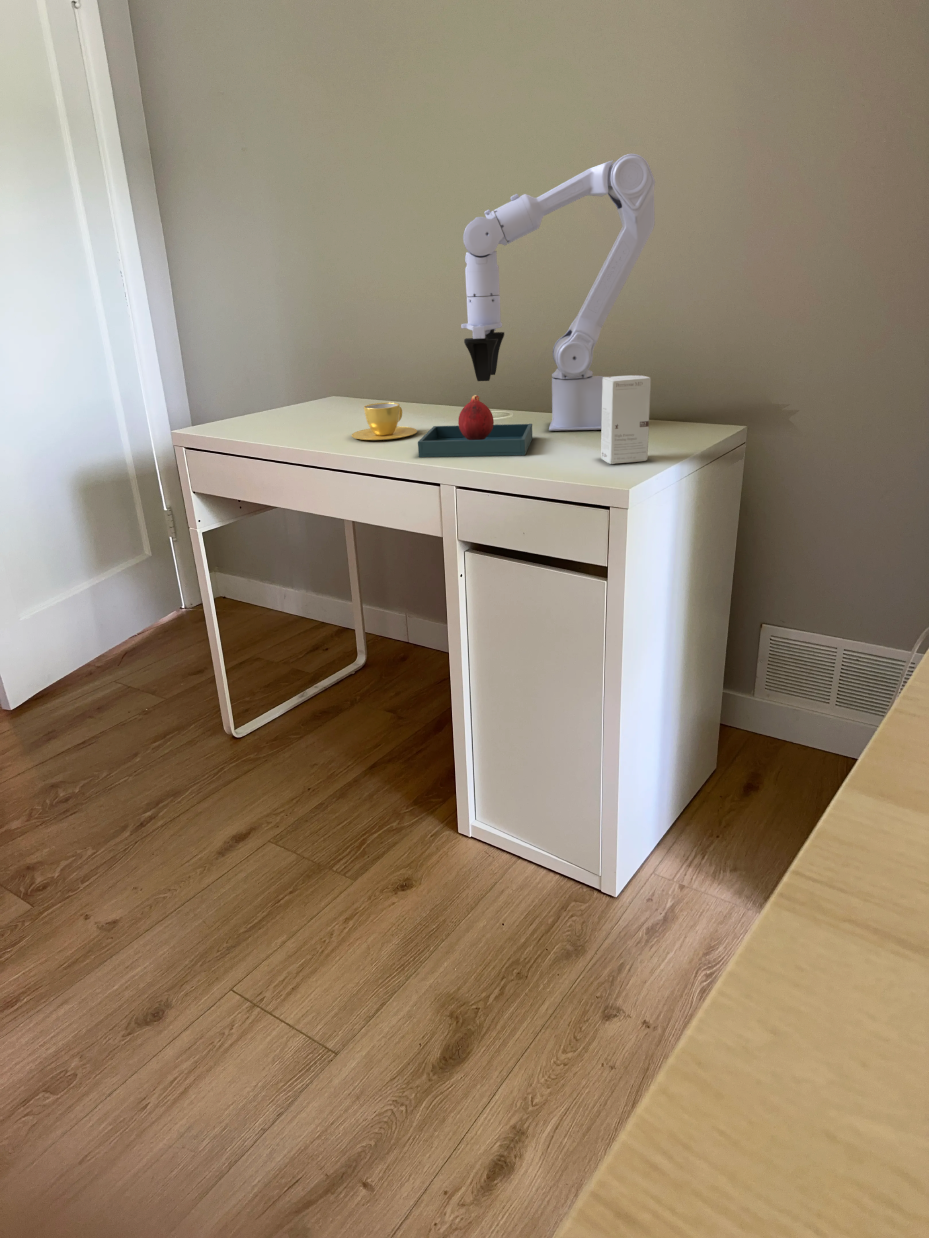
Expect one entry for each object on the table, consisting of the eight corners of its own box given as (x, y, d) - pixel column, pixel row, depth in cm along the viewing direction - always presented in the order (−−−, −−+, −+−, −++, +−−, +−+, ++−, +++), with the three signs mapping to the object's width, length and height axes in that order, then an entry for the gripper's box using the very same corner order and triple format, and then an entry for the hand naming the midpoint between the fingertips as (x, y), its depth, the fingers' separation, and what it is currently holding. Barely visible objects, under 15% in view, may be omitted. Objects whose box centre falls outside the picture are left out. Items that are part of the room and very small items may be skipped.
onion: (490, 448, 138) (489, 398, 135) (456, 448, 140) (453, 398, 136) (496, 440, 144) (495, 392, 140) (463, 441, 145) (461, 393, 142)
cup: (387, 444, 148) (384, 413, 146) (338, 439, 155) (334, 409, 153) (430, 431, 157) (428, 401, 155) (382, 427, 164) (379, 398, 161)
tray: (532, 438, 146) (532, 423, 145) (525, 455, 134) (524, 439, 133) (434, 440, 149) (433, 426, 148) (418, 457, 137) (417, 441, 136)
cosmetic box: (610, 465, 125) (611, 380, 120) (599, 459, 129) (600, 377, 124) (649, 461, 126) (652, 377, 122) (637, 455, 130) (639, 373, 126)
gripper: (466, 295, 153) (470, 373, 158) (452, 299, 140) (457, 384, 145) (505, 293, 151) (508, 371, 157) (495, 297, 138) (498, 383, 144)
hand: (486, 377), depth 151 cm, fingers open, 7 cm apart
